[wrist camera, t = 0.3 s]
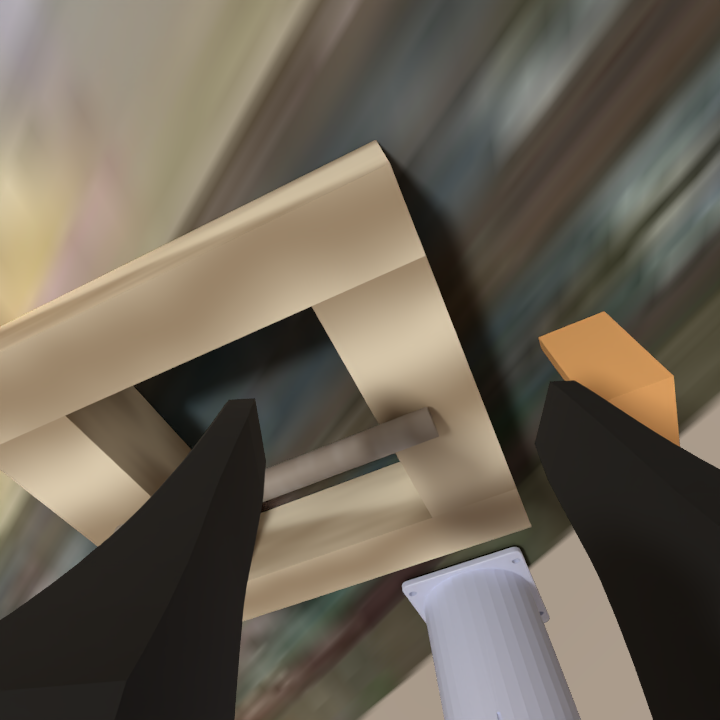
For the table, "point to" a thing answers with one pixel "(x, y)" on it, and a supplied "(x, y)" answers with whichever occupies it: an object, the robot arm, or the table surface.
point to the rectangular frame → (237, 319)
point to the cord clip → (615, 371)
